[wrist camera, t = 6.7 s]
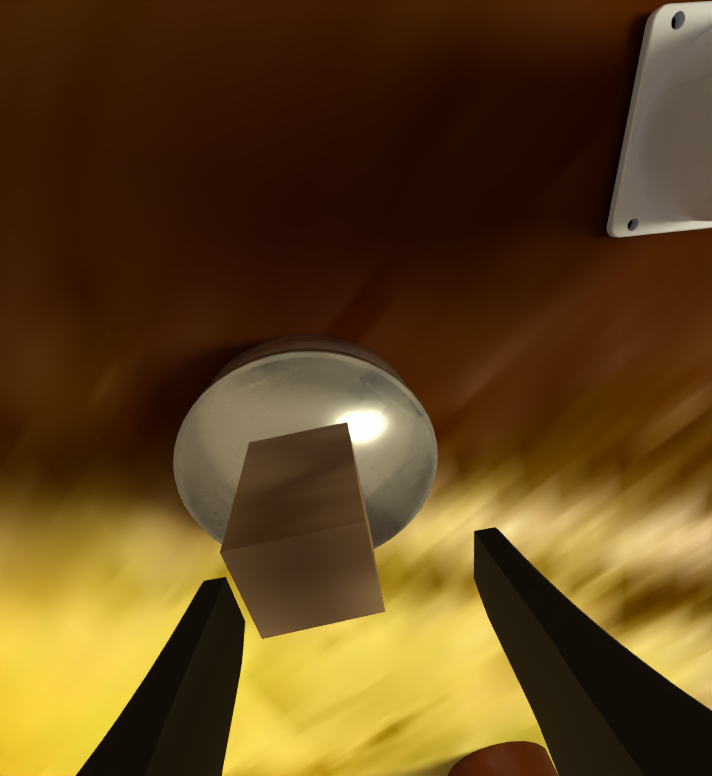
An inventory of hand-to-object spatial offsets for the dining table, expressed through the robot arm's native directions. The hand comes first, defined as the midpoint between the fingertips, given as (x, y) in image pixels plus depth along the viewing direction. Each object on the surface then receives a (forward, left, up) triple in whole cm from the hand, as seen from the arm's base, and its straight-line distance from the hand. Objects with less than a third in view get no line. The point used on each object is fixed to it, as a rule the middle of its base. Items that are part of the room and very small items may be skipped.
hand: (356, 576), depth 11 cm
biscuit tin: (+2, +2, -11) cm, 11 cm away
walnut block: (+2, +2, -7) cm, 7 cm away
